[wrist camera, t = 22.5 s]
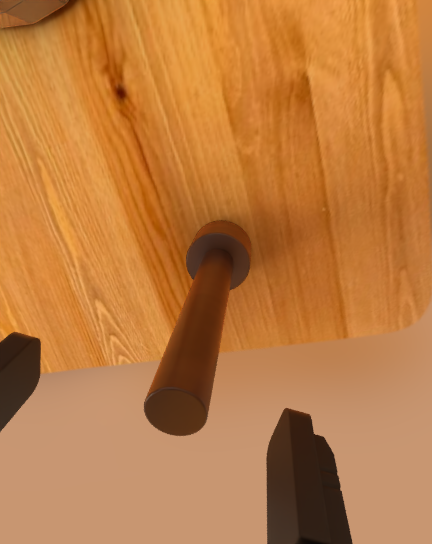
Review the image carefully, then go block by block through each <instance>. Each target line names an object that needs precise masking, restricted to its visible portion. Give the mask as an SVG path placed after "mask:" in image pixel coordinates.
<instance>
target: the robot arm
mask: <svg viewBox="0 0 432 544" xmlns="http://www.w3.org/2000/svg"><path fill="white" fill-rule="evenodd" d="M40 354H41V342H40V339H38V338H35V337H31V336H28V335H24V334H21V333H17V332H13V333H11V334H10V335H8V336H7V337H6V338H5V339H4V340H3V341H1V342H0V431H1V430H2V429H3V428H4V427H5V426H6V424H7V423H8V422H9V421H10V420H11V418H12V417H13V416H14V415H15V413H16V412H17V411H18V410H19V409H20V408H21V406H22V405H23V404H24V403H25V401H26V400H27V399H28V398H29V397H30V396H31V394H32V393H33V392H34V390H35V388H36V386H37V384H38V381H39V378H40ZM267 544H352V539H351V535H350V529H349V525H348V520H347V516H346V510H345V506H344V501H343V496H342V491H340V482H339V477H338V475H337V467H336V463H335V458H334V454H333V452H332V450H331V448H330V447H329V445H328V444H327V442H326V440H325V438H324V437H322V436H319V435H315V434H314V432H313V426H312V419H311V416H310V415H309V414H306V413H303V412H299V411H295V410H292V409H288V408H285V409H284V411H283V413H282V415H281V417H280V419H279V422H278V424H277V426H276V428H275V430H274V433H273V435H272V437H271V440H270V442H269V446H268V451H267Z"/></svg>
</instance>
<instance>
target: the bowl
mask: <svg viewBox="0 0 432 544" xmlns="http://www.w3.org/2000/svg"><path fill="white" fill-rule="evenodd" d="M68 1H69V0H0V28H4V27H12V26H20V25H29V24H35V23H36V22H38V21H40V20H41V19H43V18H45V17H46V16H48V15H50V14H51V13H53V12H55V11H56V10H58V9H60V8H61V7H63V6H64V5H66V3H68Z"/></svg>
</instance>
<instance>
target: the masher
mask: <svg viewBox="0 0 432 544" xmlns="http://www.w3.org/2000/svg"><path fill="white" fill-rule="evenodd" d="M250 257H251V244H250V240H249V238H248V236H247V234H246V233H245V231H244V230H243V229H242V228H240V227H239V226H238V225H236V224H234V223H232V222H228V221H214V222H211V223H209V224H207V225H205V226H204V227H202V228H201V229H200V230H199V232H198V233H197V235H196V236H195V238H194V240H193V242H192V244H191V246H190V248H189V250H188V252H187V257H186V265H187V269H188V272H189V274H190V276H191V277H192V279H193V283H192V285H191V288H190V290H189V293H188V295H187V298H186V300H185V303H184V305H183V308H182V310H181V313H180V315H179V318H178V320H177V323H176V325H175V328H174V330H173V332H172V335H171V337H170V340H169V342H168V345H167V347H166V350H165V352H164V355H163V357H162V360H161V362H160V365H159V367H158V370H157V372H156V375H155V377H154V380H153V382H152V385H151V387H150V389H149V392H148V394H147V397H146V399H145V402H144V412H145V415H146V417H147V419H148V421H149V422H150V423H151V424H152V425H153V426H154V427H155V428H157V429H158V430H160V431H162V432H164V433H167V434H170V435H175V436H186V435H191V434H194V433H196V432H198V431H199V430H200V429H201V428H202V427H203V426H204V425H205V423H206V420H207V417H208V411H209V405H210V399H211V393H212V388H213V382H214V376H215V371H216V365H217V359H218V353H219V348H220V342H221V336H222V330H223V324H224V319H225V313H226V307H227V301H228V296H229V290H232V289H234V288H236V287H238V286H239V285H240V284H241V283H242V282H243V281H244V280H245V279H246V277H247V275H248V272H249V269H250Z"/></svg>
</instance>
